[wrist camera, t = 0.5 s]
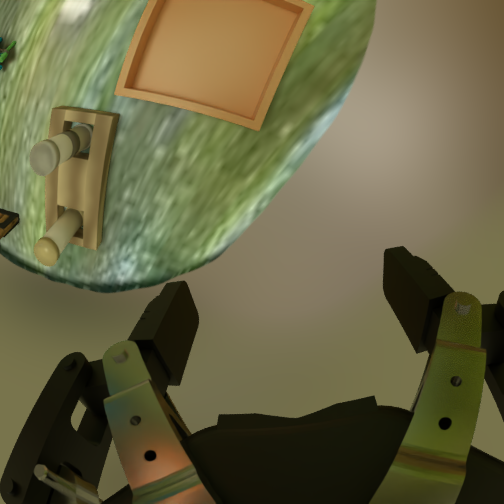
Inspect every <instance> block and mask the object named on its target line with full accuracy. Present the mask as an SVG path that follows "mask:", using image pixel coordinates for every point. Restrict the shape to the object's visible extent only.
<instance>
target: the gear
mask: <svg viewBox="0 0 504 504" xmlns="http://www.w3.org/2000/svg"><path fill="white" fill-rule="evenodd" d="M1 41H2V38H1V37H0V42H1ZM15 44H16V42H15V41H13V42H12V43H11V44H10V45H9V46H8V48H7V49H0V62H3V61H4V60H5V58H6V57H7V56H8V54H9V52H8V51H9V50H10V49H11V48H12V47H13V46H14V45H15ZM1 69H2V65H0V70H1Z"/></svg>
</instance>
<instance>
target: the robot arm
mask: <svg viewBox="0 0 504 504" xmlns="http://www.w3.org/2000/svg"><path fill="white" fill-rule="evenodd" d="M383 290H384V295H385V297H386V299H387V301H388V303H389V304H390V306H391V308H392V309H393V311H394V313H395V315H396V316H397V318H398V320H399V321H400V324H401V325H402V327H403V329H404V331H405V333H406V335H407V336H408V338H409V340H410V342H411V344H412V346H413V348H414V350H415V351H416V353H420V352H424V351H428V353H429V357H428V360H427V363H426V367H425V370H424V373H423V376H422V379H421V382H420V385H419V388H418V391H417V393H416V396H415V399H414V401H413V403H412V406H411V408H410V410H409V411H408V410H405V409H402V408H399V407H393V406H382V405H381V406H377V403H376V400H375V396H370V397H366V398H361V399H357V400H352V401H347V402H342V403H337V404H334V405H332V406H330V407H327V408H325V409H322V410H320V411H317V412H314V413H311V414H308V415H306V416H303V417H299V418H287V417H278V416H270V415H263V414H256V413H254V414H221V415H220V414H219V416H218V422H217V425H215V426H211V427H208V428H205V429H202V430H200V431H197V432H196V433H194V434H191V432H190V431H189V429H188V428H187V426H186V424H185V423H184V421H183V420H182V418H181V416H180V414H179V412H178V411H177V409H176V407H175V405H174V403H173V402H172V400H171V398H170V396H169V394H168V393H167V392H166V390H167V387H168V385H172V386H173V385H174V386H179V385H180V383H181V380H182V376H183V373H184V370H185V367H186V363H187V360H188V357H189V354H190V351H191V347H192V344H193V341H194V338H195V335H196V332H197V329H198V325H199V316H198V311H197V309H196V306H195V304H194V301H193V298H192V295H191V293H190V290H189V287H188V285H187V283H186V282H185V281H177V282H170V283H167V284H166V285H165V286H164V288H163V290H162V291H161V293H160V295H159V296H157V297H156V298H154V299H153V300H152V301H151V302H150V303H149V304H148V306H147V307H146V309H145V311H144V313H143V314H142V316H141V318H140V320H139V321H138V323H137V324H136V326H135V328H134V330H133V331H132V333H131V335H130V336H129V338H128V340H125V341H121V342H118V343H116V344H114V345H112V346H111V347H110V348H108V350H107V351H106V352H105V353H104V355H103V359H101V360H97V361H92V362H88V360H87V359H86V357H85V356H84V355H83V354H82V353H80V352H74V353H71V354H69V355H67V356H66V357H64V358H63V359H62V360H61V361H60V363H59V364H58V366H57V367H56V369H55V371H54V372H53V374H52V376H51V377H50V379H49V381H48V382H47V384H46V386H45V388H44V389H43V391H42V393H41V395H40V396H39V398H38V400H37V402H36V404H35V405H34V407H33V409H32V411H31V413H30V415H29V417H28V419H27V421H26V423H25V425H24V427H23V429H22V431H21V433H20V435H19V437H18V439H17V442H16V444H15V446H14V448H13V451H12V453H11V455H10V458H9V460H8V462H7V465H6V468H5V470H4V473H3V476H2V478H1V482H0V493H1V496H2V498H3V500H4V502H5V503H6V504H504V462H503V461H501V460H499V459H497V458H495V457H493V456H491V455H489V454H487V453H485V452H483V451H481V450H479V449H477V448H475V447H473V446H472V445H471V442H472V439H473V435H474V431H475V427H476V422H477V418H478V413H479V408H480V403H481V397H482V391H483V384H484V379H485V381H486V383H487V385H488V387H489V389H490V391H491V393H492V395H493V398H494V400H495V402H496V404H497V407H498V409H499V411H500V414H501V416H502V419H503V421H504V291H502V292H501V293H500V295H499V298H498V301H497V304H484V305H481V303H480V301H479V300H478V299H477V298H476V297H475V296H473V295H472V294H469V293H466V292H455V291H454V290H453V289H452V288H451V287H450V286H449V284H447V282H446V281H445V280H444V279H443V278H442V277H441V276H440V275H438V273H437V272H436V271H435V269H433V268H432V266H431V265H429V263H427V261H425V260H423V259H421V258H419V257H417V256H413V255H412V254H411V253H410V252H409V251H408V250H407V249H406V248H405V247H404V246H400V247H394V248H389V249H386V250H385V252H384V270H383ZM78 400H80V401H81V403H82V404H83V405H84V406H85V407H86V408H87V409H86V411H85V414H84V416H83V418H82V420H81V423H80V425H79V428H78V430H77V431H76V430H75V429H74V428H73V427H72V424H71V416H72V413H73V411H74V409H75V407H76V405H77V402H78ZM112 438H113V440H114V443H115V446H116V450H117V453H118V456H119V459H120V461H121V464H122V467H123V470H124V472H125V475H126V477H127V480H128V482H129V484H128V485H127V486H125V487H124V488H122V489H121V490H119V491H118V492H116V493H115V494H114V495H112V496H111V497H109V498H108V499H106V500H105V501H103V500H102V499H100V498H99V495H98V491H97V488H98V484H99V481H100V477H101V474H102V470H103V467H104V464H105V460H106V457H107V453H108V450H109V447H110V444H111V441H112Z"/></svg>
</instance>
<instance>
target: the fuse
mask: <svg viewBox="0 0 504 504" xmlns="http://www.w3.org/2000/svg"><path fill="white" fill-rule="evenodd" d="M83 218H84V211H80V210H76V209H72V208H67V209H66V210H65V212H64V213H63V214H62V215H61V217H60V218H59V219H58V220H57V221H56V222H55V223H54V224H53V226H52V227H51V228H50V229H49V230H48V231H47V232H46V234H45V235H44V236H43V237H42V238H40V239H39V240H38V242H37V243H36V244H35V246H34V253H35V256H36V258H37V259H38V260H39V261H40V262H41V263H42V264H43V265H45V266H53V265H54V264H55V263H56V261H57V260H58V258H59V256H60V254H61V252H62V251H63V249H64V248H65V247H66V245H67V244H68V242H69V241H70V240H71V238H72V237H73V235H74V234H75V233H76V231H77V230H78V229H79V228H80V227H81V226H82V225H83Z"/></svg>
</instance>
